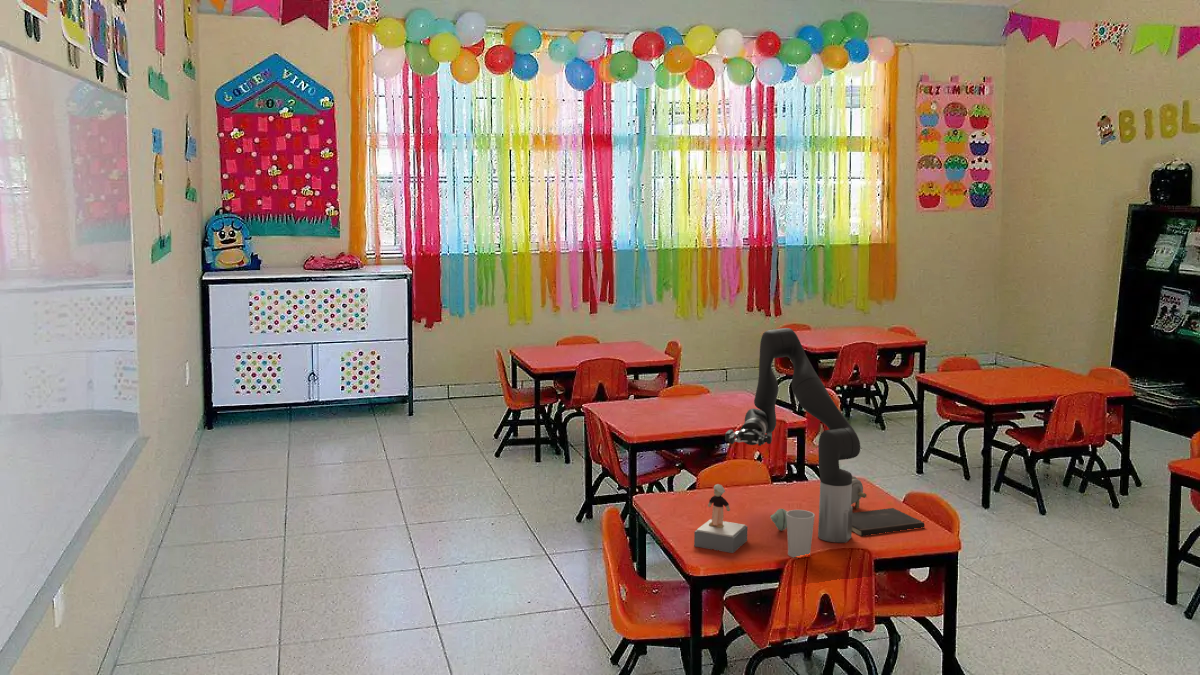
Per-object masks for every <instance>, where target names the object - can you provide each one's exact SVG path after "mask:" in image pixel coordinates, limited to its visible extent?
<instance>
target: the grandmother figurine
mask: <svg viewBox="0 0 1200 675" xmlns="http://www.w3.org/2000/svg"><path fill="white" fill-rule="evenodd" d="M713 490H714V491H713V494H714V495H713V496H711V497H710V498H709V501H708V504H707V507H709V508H711V507H712V514H711V519H712V522H711V523H709V526H716V528H723V527H724V525H723V521H724V507H725V508H726V509H725V510H726V512H730V511H731V508H730V503H729V502H728V501H727V500H726V499H725V498H724V497H723V494H724V493H726V490H725V488H724V487H723V485H722V484H719V483H717V484H715V485H714V486H713Z"/></svg>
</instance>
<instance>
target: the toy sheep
mask: <svg viewBox="0 0 1200 675" xmlns="http://www.w3.org/2000/svg"><path fill="white" fill-rule="evenodd" d="M862 498H863V499H865V498H867V494H866V493H865V492H864V486H863V482H862V481H861V480H859V479H858V478H857V477H856V476H854V475H852V492H851V506H852V505H853V504H855V509H859V508H860V499H862Z"/></svg>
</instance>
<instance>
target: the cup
mask: <svg viewBox="0 0 1200 675" xmlns="http://www.w3.org/2000/svg"><path fill="white" fill-rule="evenodd" d="M815 515H816V514H815V513H814V512H812V511H810V510H805V509H791V510H787V513H786V518H787V528H786V531H787V556H789V557H791V558H794V557H796V556H800V555H805V554H809V553H810V554H811V549H812V548H811V547H812V541H813V540H812V539H813V531H814V524H815Z"/></svg>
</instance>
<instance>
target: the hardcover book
mask: <svg viewBox="0 0 1200 675" xmlns="http://www.w3.org/2000/svg"><path fill="white" fill-rule="evenodd" d="M925 526H926V525H925V522H924V521H921V520H920V519H917V518H916V517H913V516H911V515H910V514H907V513H905V512H902V511H901V510H898V509H896V508H895V507H889V508H883V509H873V510H864V511H857V512H855V511H854V512H853V513H852V532H853V533H855V534H857V535H858V536H860V537H866V535H868V536H872V535H871V534H876V535H880V534H879V533H883V534H888V533H887V532H891V533H894V532H893V531H899V532H901V531H900V530H906V531H908V530H907V529H914V528H921V527H924V528H925ZM914 530H915V529H914ZM885 532H886V533H885Z"/></svg>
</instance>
